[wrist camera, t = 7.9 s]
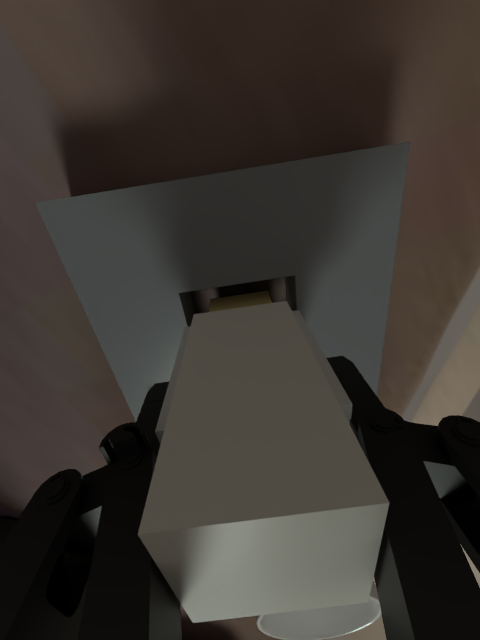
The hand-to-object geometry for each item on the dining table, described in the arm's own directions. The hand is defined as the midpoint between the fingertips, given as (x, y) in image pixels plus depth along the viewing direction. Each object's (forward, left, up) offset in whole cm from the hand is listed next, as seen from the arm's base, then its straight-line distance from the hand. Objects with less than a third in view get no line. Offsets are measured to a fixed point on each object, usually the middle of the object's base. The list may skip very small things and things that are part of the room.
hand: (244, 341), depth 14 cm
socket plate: (0, 0, -4) cm, 4 cm away
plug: (0, 0, -2) cm, 2 cm away
